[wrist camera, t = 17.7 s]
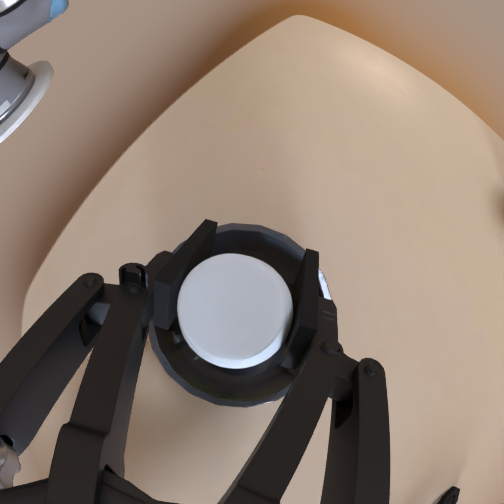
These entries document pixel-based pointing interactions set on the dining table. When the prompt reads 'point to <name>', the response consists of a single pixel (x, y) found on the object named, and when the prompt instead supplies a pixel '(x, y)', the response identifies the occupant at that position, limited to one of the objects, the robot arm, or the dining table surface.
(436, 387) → the dining table surface
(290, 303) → the supplement bottle
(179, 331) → the gray round bowl
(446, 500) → the hairbrush
